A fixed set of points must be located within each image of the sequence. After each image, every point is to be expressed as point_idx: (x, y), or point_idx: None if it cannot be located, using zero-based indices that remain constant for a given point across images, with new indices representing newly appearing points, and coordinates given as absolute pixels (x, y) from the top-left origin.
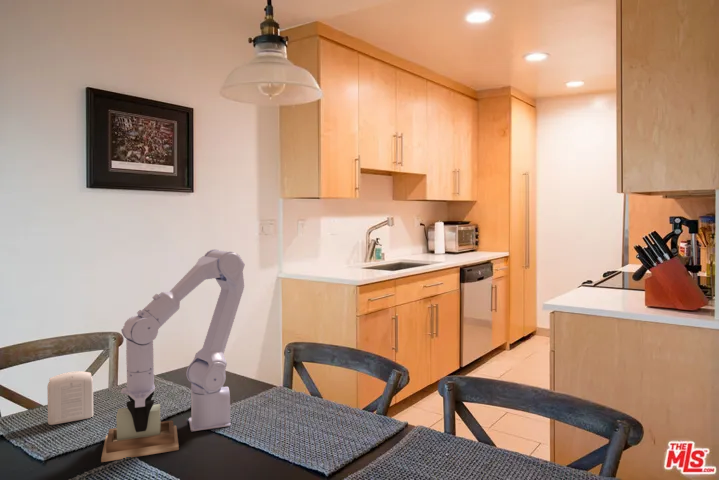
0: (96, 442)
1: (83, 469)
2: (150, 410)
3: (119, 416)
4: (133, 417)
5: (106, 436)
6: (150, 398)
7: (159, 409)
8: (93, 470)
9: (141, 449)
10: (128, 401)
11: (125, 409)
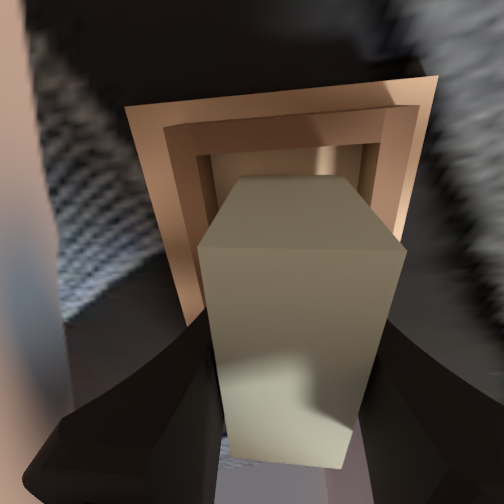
0: (406, 15)
1: (62, 19)
2: (244, 431)
3: (204, 265)
4: (168, 349)
5: (422, 81)
6: (377, 502)
7: (246, 457)
8: (57, 82)
9: (194, 266)
10: (147, 488)
11: (342, 312)
